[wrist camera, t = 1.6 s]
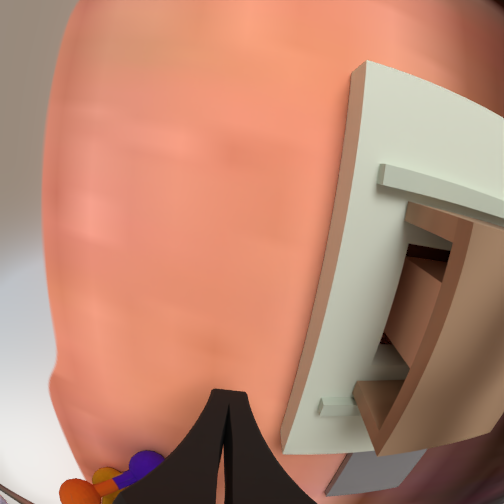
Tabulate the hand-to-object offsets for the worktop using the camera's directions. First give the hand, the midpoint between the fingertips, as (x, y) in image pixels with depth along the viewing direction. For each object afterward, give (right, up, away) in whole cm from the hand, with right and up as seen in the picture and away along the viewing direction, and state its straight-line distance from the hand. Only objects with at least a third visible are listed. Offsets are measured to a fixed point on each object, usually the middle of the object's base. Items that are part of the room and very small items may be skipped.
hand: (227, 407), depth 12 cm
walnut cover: (+10, +3, +1) cm, 11 cm away
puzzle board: (+12, +4, +3) cm, 13 cm away
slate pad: (+11, -11, +7) cm, 17 cm away
